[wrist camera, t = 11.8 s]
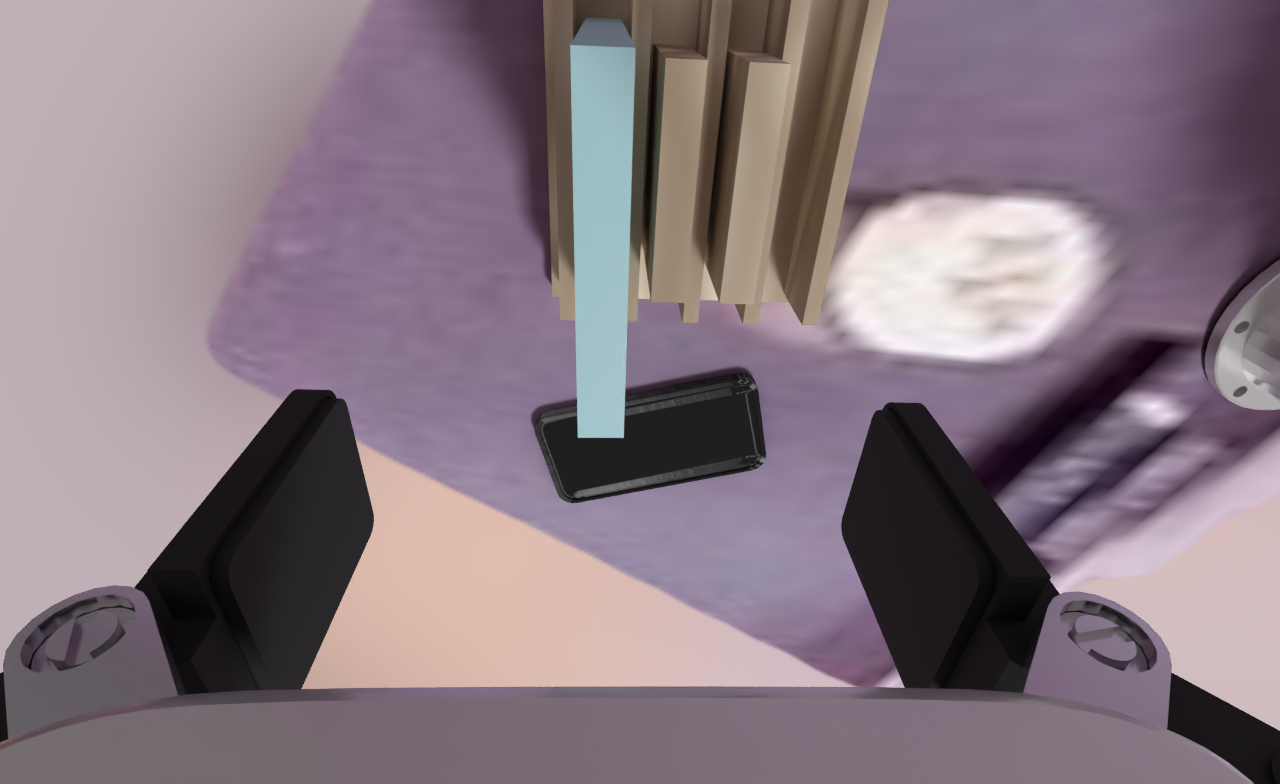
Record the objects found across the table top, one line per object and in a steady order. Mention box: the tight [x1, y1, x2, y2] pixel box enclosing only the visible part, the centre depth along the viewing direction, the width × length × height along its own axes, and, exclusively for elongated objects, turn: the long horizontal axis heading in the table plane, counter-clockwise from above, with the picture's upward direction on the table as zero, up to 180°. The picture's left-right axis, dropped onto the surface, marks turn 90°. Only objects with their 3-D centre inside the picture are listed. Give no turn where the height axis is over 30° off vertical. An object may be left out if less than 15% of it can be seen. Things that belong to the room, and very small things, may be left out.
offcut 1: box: [643, 44, 708, 303], centre depth 29 cm, size 2×10×7 cm, turn 177°
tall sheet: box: [570, 17, 636, 438], centre depth 25 cm, size 2×12×16 cm, turn 177°
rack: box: [543, 0, 889, 325], centre depth 31 cm, size 15×16×5 cm
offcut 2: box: [704, 47, 791, 304], centre depth 30 cm, size 2×10×7 cm, turn 177°
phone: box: [535, 373, 766, 503], centre depth 43 cm, size 8×1×15 cm
